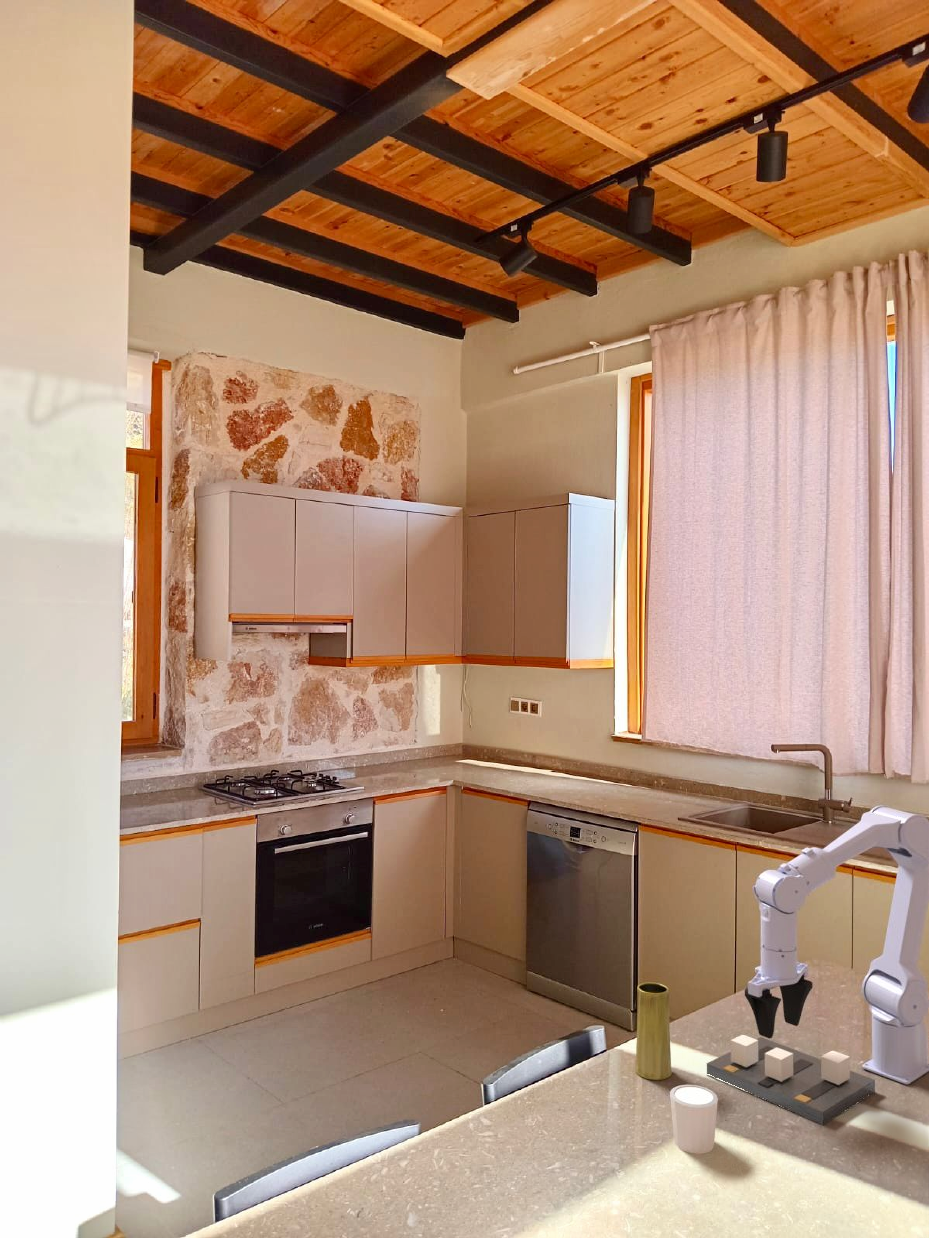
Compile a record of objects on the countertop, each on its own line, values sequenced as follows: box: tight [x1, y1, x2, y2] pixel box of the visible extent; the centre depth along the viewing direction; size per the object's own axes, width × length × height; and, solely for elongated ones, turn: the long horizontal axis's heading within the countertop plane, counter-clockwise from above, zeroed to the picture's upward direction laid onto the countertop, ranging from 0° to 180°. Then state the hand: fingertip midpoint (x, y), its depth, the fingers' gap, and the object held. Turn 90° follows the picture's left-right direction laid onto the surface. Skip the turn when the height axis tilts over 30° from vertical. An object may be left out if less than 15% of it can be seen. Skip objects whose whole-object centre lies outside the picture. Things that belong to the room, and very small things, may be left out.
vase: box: [634, 981, 673, 1081], centre depth 160 cm, size 6×6×14 cm
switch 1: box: [730, 1034, 758, 1067], centre depth 159 cm, size 4×3×4 cm
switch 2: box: [765, 1047, 793, 1082], centre depth 154 cm, size 4×3×4 cm
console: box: [706, 1036, 876, 1126], centre depth 156 cm, size 16×21×2 cm
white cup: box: [669, 1084, 719, 1155], centre depth 138 cm, size 7×7×7 cm
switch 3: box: [820, 1049, 851, 1085], centre depth 153 cm, size 4×3×4 cm
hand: (778, 1029), depth 154 cm, fingers open, 7 cm apart
